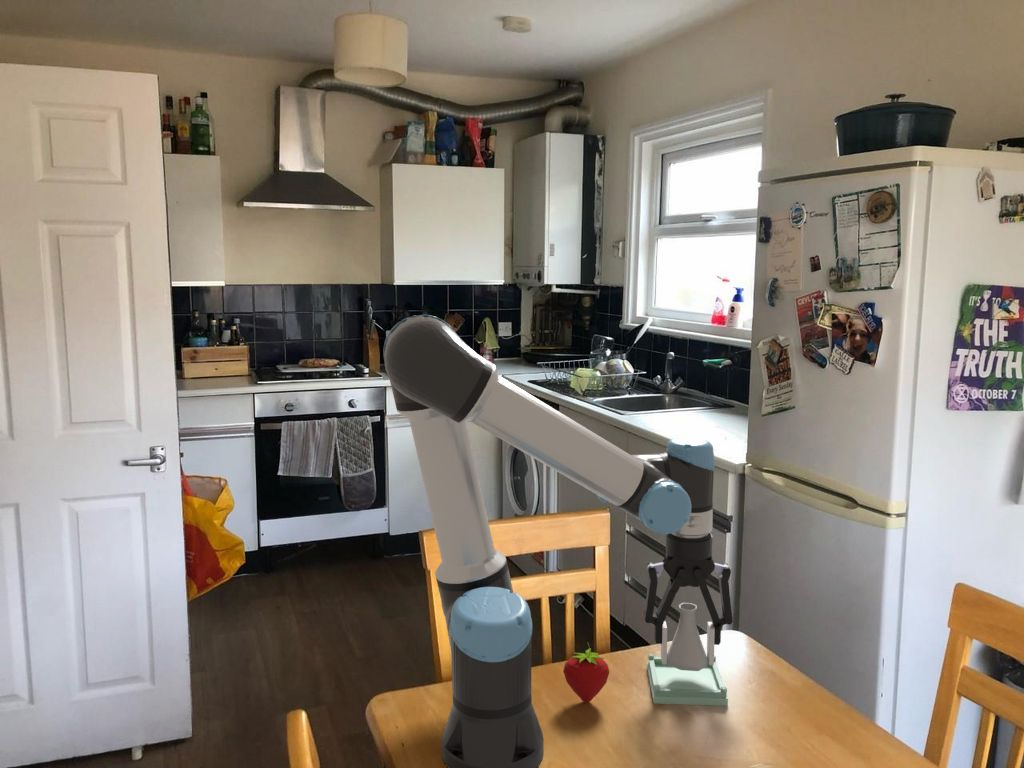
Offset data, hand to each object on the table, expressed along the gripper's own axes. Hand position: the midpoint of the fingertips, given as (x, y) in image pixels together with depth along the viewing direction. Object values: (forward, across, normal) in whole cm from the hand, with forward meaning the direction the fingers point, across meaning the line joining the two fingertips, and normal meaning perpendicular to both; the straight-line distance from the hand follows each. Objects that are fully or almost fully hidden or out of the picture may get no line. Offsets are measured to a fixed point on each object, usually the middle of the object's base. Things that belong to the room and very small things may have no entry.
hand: (686, 660), depth 141 cm
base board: (+5, 0, 0) cm, 5 cm away
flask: (0, 0, 0) cm, 0 cm away
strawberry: (+5, -17, -6) cm, 19 cm away
